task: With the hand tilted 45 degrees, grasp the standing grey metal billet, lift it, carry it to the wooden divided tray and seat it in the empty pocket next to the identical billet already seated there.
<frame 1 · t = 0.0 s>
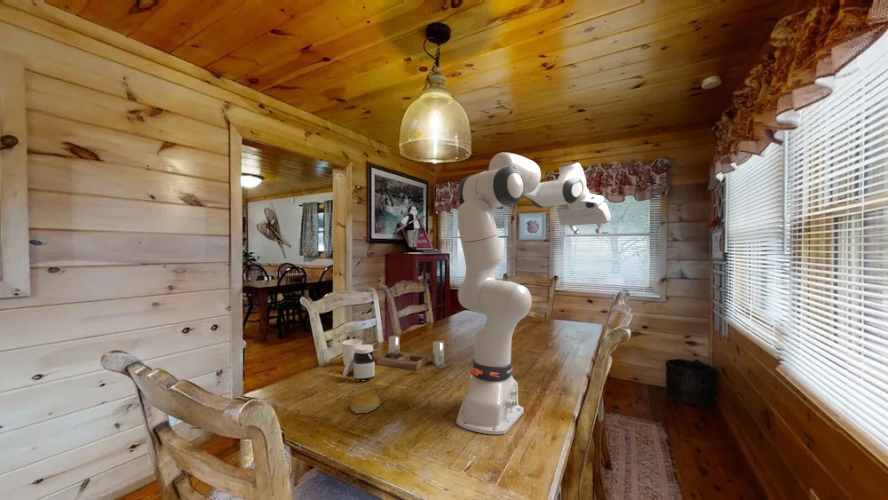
hand: (587, 233, 137), 54 cm above the table, tool tilted 30°, fingers open, 8 cm apart
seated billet: (394, 360, 141), resting on wooden divided tray
wooden divided tray: (403, 365, 139), on the table
bread roll: (365, 408, 103), on the table
white cup: (352, 366, 138), on the table
billet: (438, 366, 138), on the table
spread jar: (358, 378, 126), on the table
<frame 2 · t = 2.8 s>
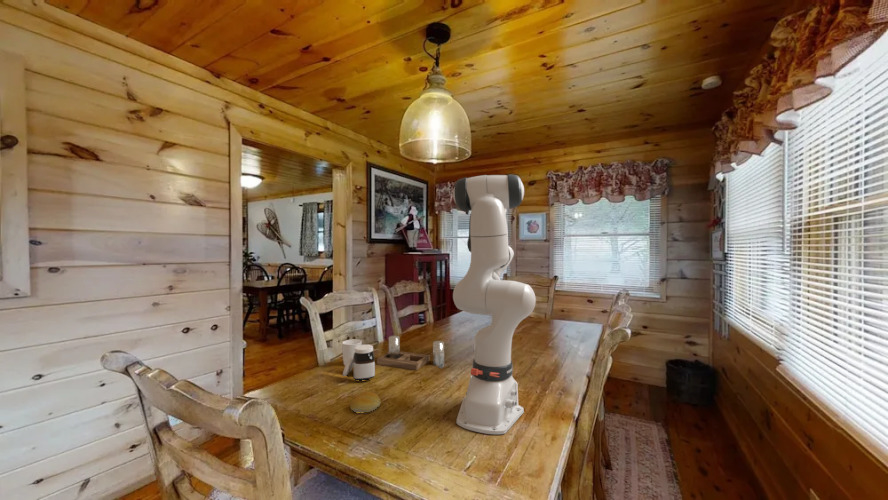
hand: (467, 300, 141), 26 cm above the table, tool tilted 45°, fingers open, 8 cm apart
nothing on the table moved.
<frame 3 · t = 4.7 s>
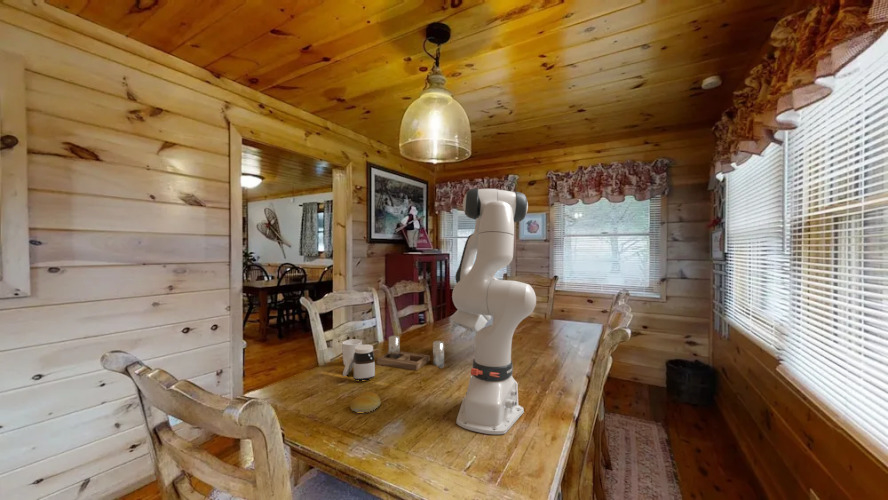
hand: (456, 334, 141), 12 cm above the table, tool tilted 45°, fingers open, 8 cm apart
nothing on the table moved.
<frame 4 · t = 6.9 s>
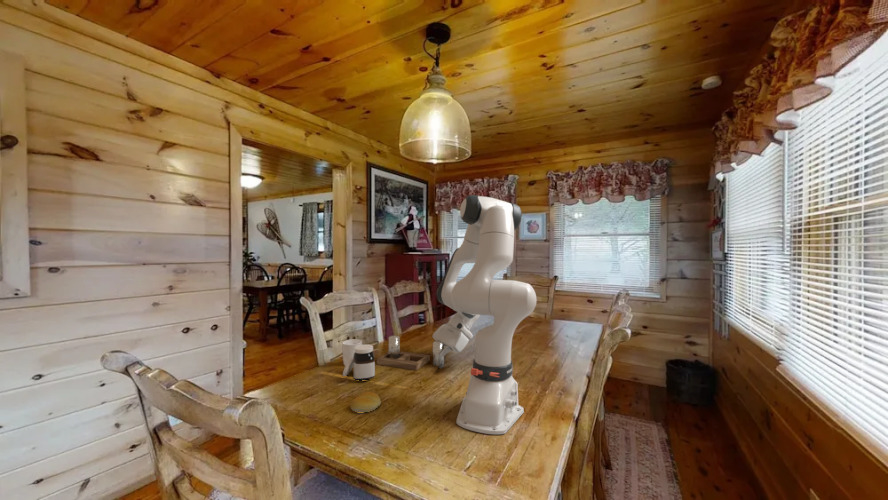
hand: (437, 353, 137), 5 cm above the table, tool tilted 45°, fingers closed on billet, 4 cm apart
billet: (438, 366, 138), on the table, touching gripper
everything else where it was.
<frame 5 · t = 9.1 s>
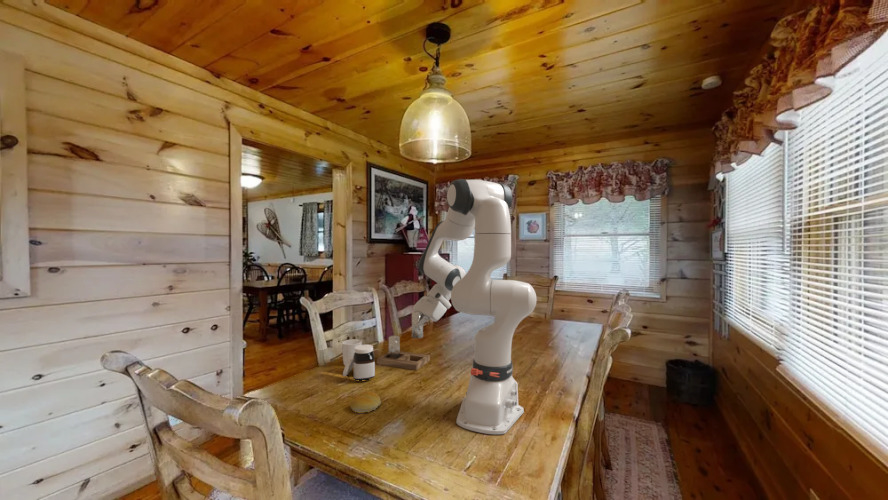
hand: (415, 323, 137), 18 cm above the table, tool tilted 45°, fingers closed on billet, 4 cm apart
billet: (417, 336, 138), point 12 cm above the table, touching gripper
everything else where it was.
when the fingers open (8 cm above the table, at t = 11.4 s): billet drops 1 cm, resting on wooden divided tray.
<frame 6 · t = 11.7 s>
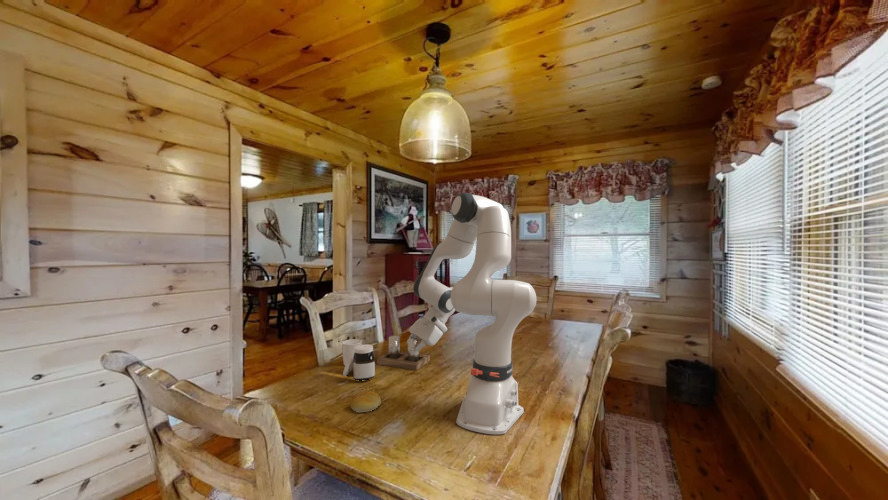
hand: (411, 347, 137), 8 cm above the table, tool tilted 45°, fingers open, 8 cm apart
billet: (413, 363, 138), point 1 cm above the table, touching wooden divided tray
everything else where it was.
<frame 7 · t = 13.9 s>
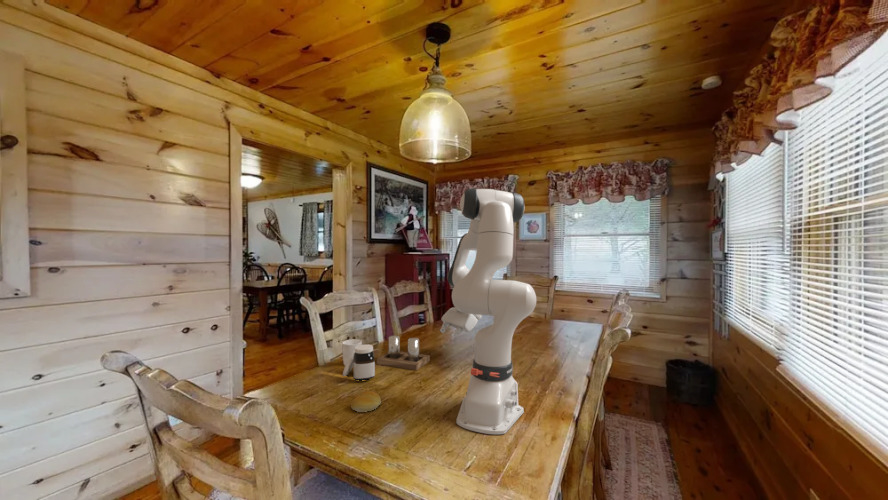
hand: (446, 334, 141), 12 cm above the table, tool tilted 45°, fingers open, 8 cm apart
nothing on the table moved.
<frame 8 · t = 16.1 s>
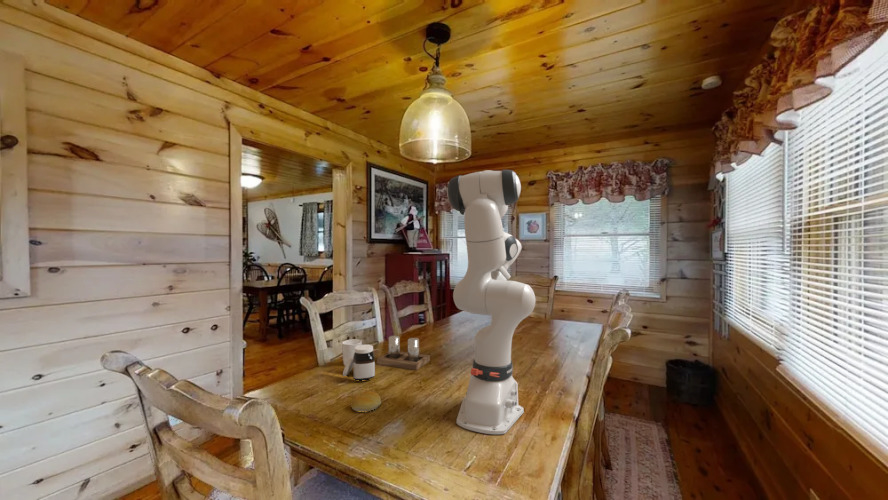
hand: (473, 295, 136), 29 cm above the table, tool tilted 45°, fingers open, 8 cm apart
nothing on the table moved.
at the end: billet 0.1 cm from the target spot on the wooden divided tray, point 1.2 cm above the wooden divided tray's base; billet tilted 1°; the gripper is holding nothing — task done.
